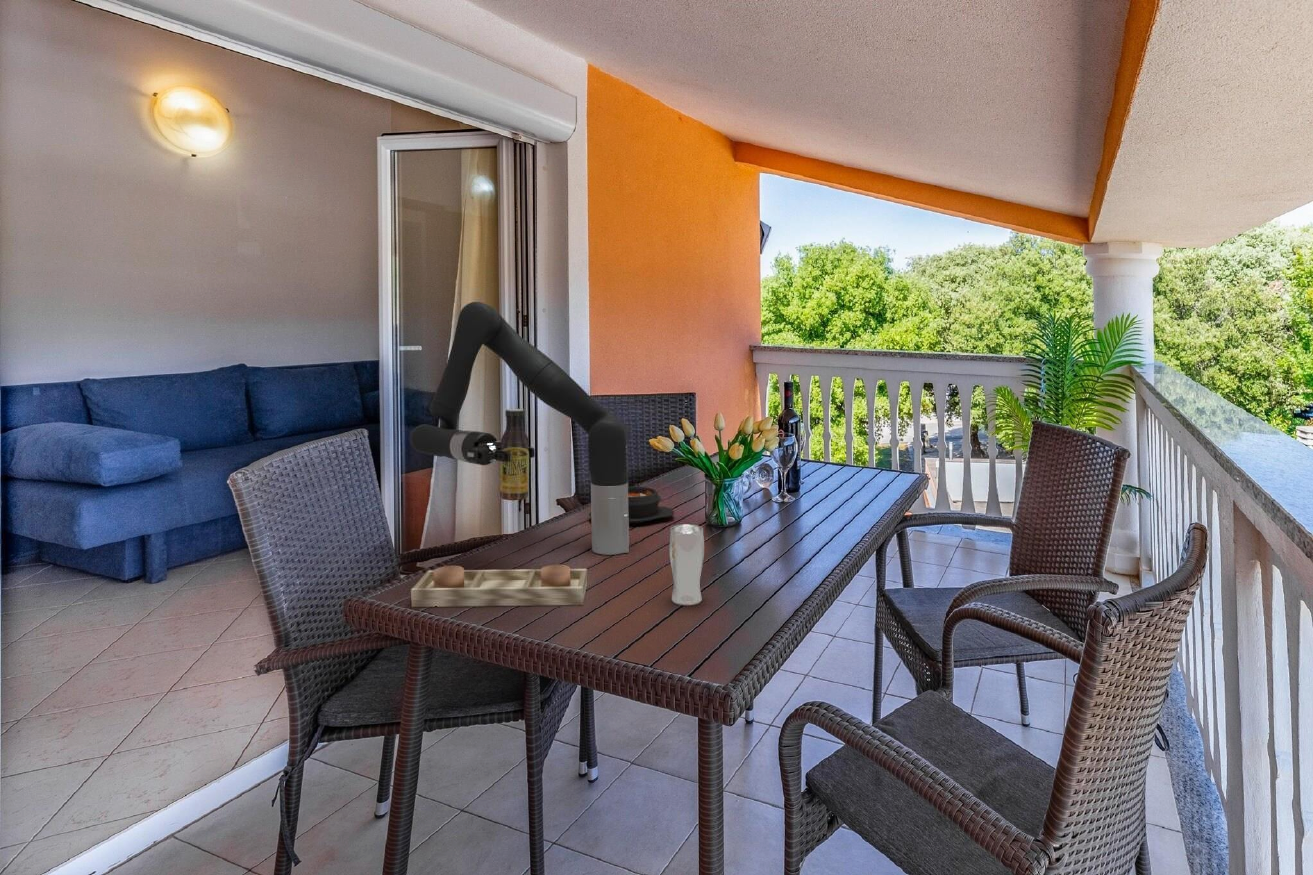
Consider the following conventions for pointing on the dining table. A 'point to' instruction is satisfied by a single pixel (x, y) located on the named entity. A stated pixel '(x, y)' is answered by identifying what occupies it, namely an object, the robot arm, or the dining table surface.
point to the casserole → (645, 505)
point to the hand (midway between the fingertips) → (521, 454)
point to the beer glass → (686, 563)
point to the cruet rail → (500, 587)
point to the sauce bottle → (515, 458)
